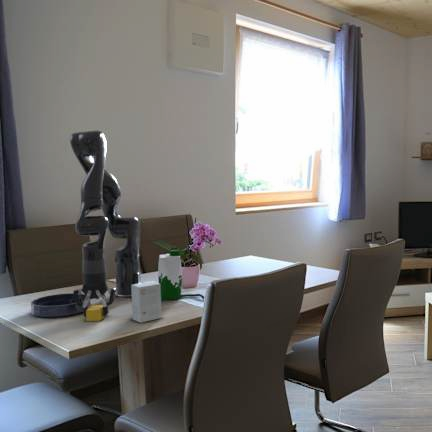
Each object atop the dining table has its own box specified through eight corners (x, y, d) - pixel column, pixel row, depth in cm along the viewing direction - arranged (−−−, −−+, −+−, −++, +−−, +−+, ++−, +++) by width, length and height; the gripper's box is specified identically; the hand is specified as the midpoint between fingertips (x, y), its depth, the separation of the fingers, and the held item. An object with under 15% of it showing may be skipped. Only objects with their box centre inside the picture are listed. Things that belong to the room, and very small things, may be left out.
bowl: (96, 303, 219) (95, 292, 219) (81, 317, 201) (81, 305, 200) (42, 305, 215) (42, 294, 214) (22, 319, 196) (22, 307, 196)
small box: (153, 314, 205) (152, 280, 204) (162, 318, 201) (161, 283, 200) (131, 319, 199) (130, 284, 198) (140, 323, 195) (139, 287, 194)
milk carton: (182, 299, 228) (181, 251, 226) (159, 301, 224) (157, 252, 222) (181, 294, 236) (180, 248, 234) (158, 296, 232) (157, 249, 230)
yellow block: (92, 315, 203) (91, 305, 202) (105, 315, 204) (105, 304, 203) (86, 321, 196) (86, 310, 195) (100, 320, 197) (100, 309, 196)
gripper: (118, 268, 203) (119, 312, 205) (75, 269, 200) (77, 314, 202) (113, 272, 196) (114, 318, 198) (68, 273, 193) (71, 320, 194)
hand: (96, 316), depth 200 cm, fingers open, 5 cm apart
